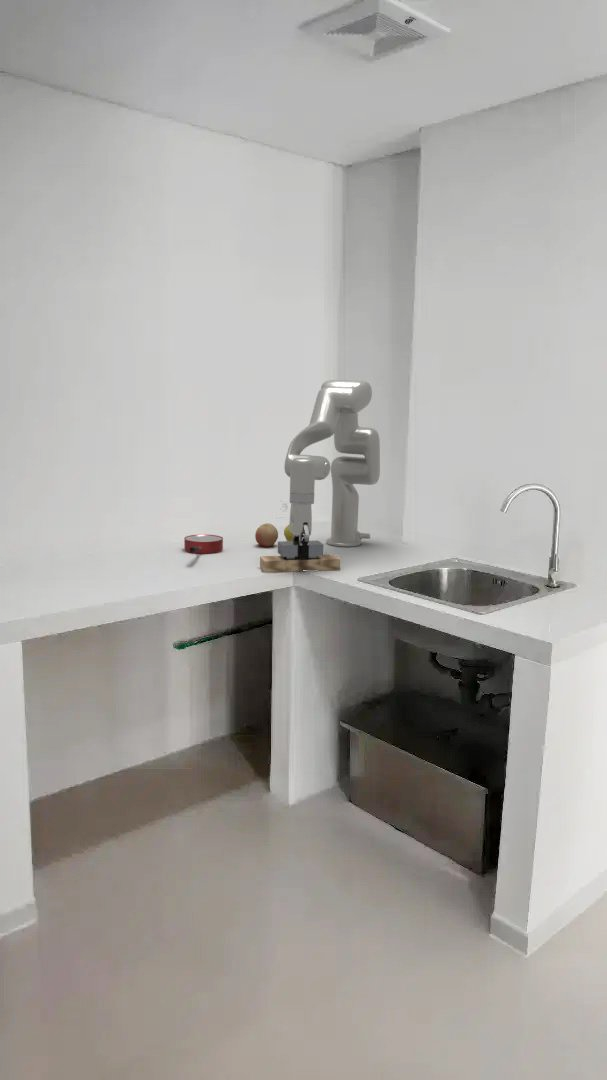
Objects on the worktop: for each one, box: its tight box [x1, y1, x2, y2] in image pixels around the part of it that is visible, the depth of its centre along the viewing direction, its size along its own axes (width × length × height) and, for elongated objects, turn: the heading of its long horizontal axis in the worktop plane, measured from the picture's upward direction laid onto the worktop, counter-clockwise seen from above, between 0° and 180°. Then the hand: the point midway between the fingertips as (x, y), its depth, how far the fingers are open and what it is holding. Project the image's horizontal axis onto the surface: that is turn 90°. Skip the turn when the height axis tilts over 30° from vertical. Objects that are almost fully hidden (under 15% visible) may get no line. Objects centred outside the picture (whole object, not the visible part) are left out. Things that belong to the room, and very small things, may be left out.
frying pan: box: [183, 534, 224, 555], centre depth 261 cm, size 32×13×6 cm, turn 5°
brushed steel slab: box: [277, 540, 325, 560], centre depth 247 cm, size 13×6×6 cm, turn 105°
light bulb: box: [283, 524, 295, 541], centre depth 271 cm, size 7×7×10 cm
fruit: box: [254, 522, 279, 548], centre depth 279 cm, size 8×8×8 cm
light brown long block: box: [259, 553, 341, 573], centre depth 247 cm, size 24×7×4 cm, turn 105°
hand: (300, 555), depth 247 cm, fingers closed on brushed steel slab, 6 cm apart
